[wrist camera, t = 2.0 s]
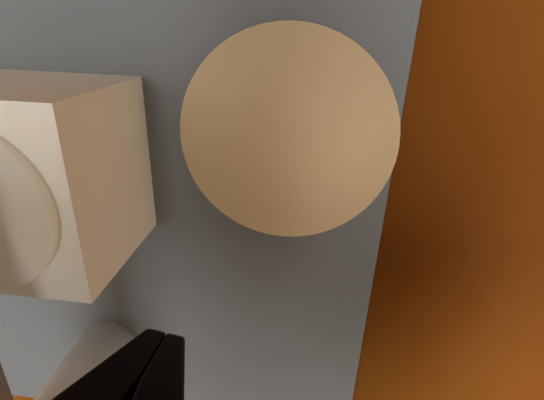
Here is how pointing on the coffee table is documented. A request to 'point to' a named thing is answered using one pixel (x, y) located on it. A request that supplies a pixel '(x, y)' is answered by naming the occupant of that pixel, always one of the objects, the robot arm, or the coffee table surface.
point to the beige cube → (71, 181)
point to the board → (231, 187)
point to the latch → (4, 386)
